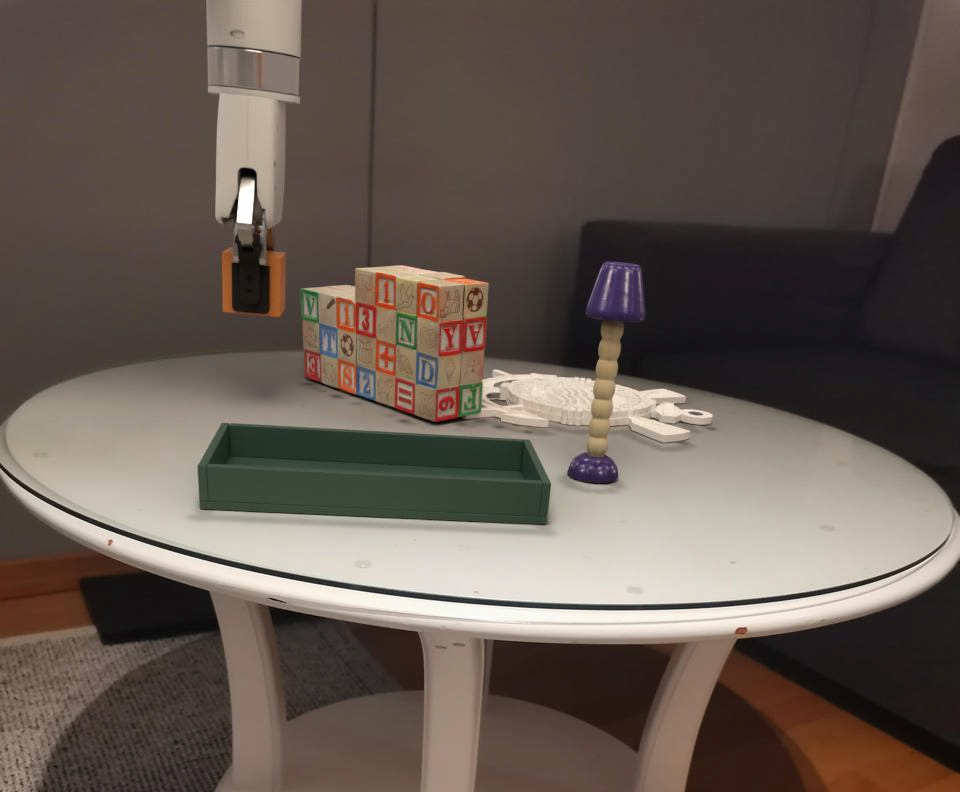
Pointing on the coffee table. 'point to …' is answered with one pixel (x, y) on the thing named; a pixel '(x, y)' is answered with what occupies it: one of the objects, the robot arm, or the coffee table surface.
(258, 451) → the tray
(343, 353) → the stack of blocks
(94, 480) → the coffee table surface
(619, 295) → the toy lamp
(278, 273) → the orange block
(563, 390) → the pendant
